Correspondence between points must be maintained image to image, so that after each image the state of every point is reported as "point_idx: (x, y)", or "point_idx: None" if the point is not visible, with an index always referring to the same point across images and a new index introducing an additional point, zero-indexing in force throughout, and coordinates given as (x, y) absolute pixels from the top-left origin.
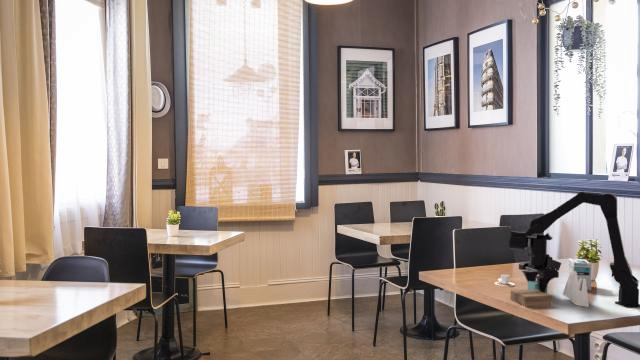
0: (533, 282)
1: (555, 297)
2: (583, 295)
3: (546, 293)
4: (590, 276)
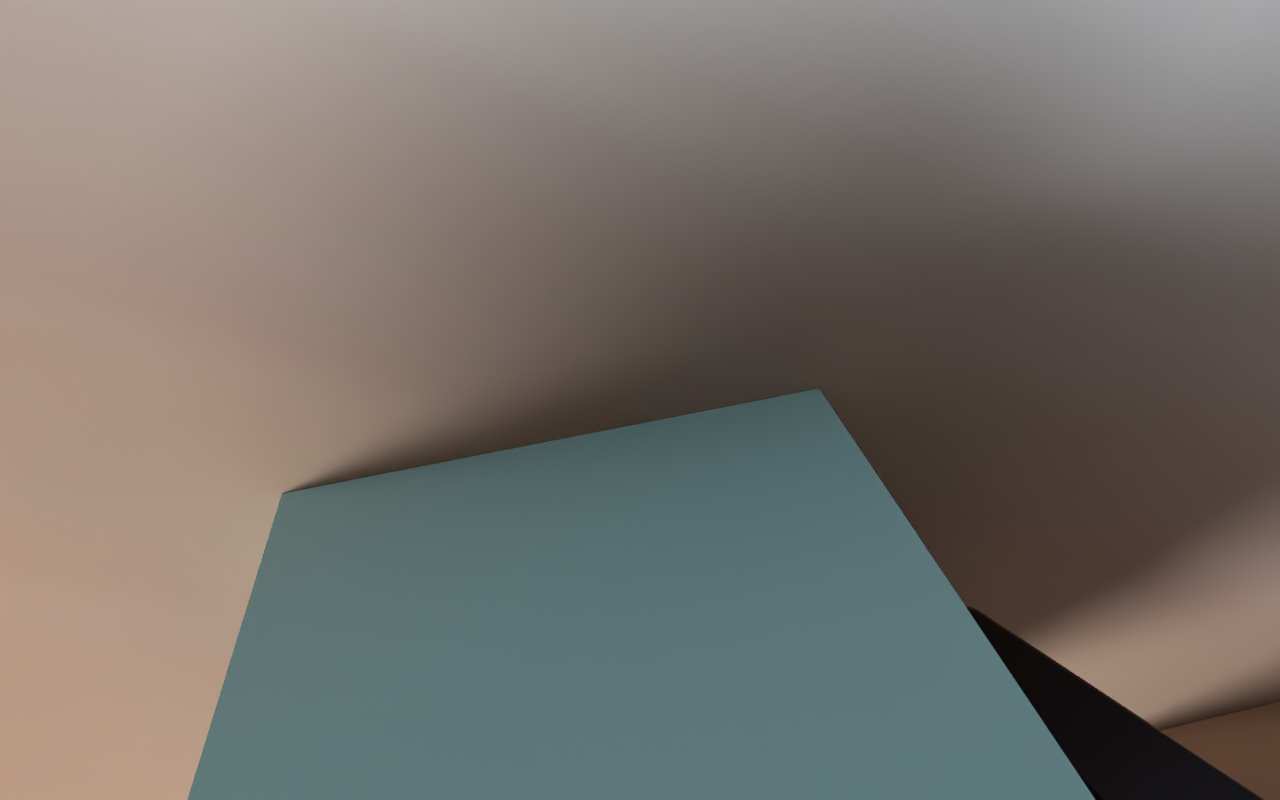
0: None
1: (1040, 113)
2: None
3: (862, 483)
4: None
